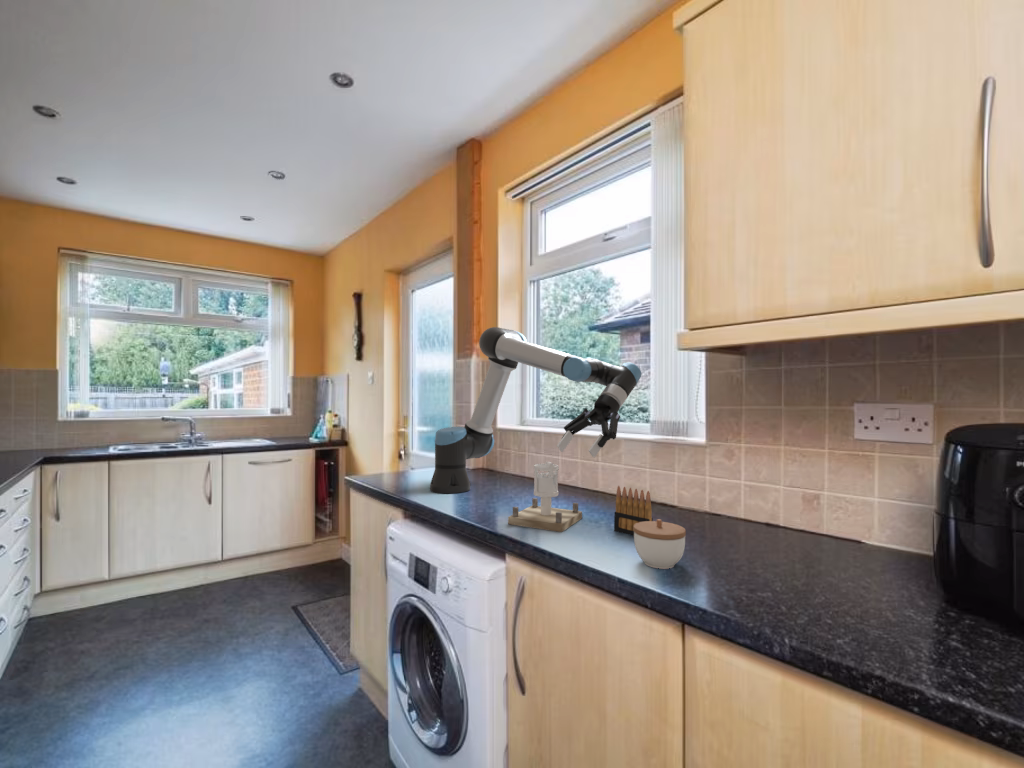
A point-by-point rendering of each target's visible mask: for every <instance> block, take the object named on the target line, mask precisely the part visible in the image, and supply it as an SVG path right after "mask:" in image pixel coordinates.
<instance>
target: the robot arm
mask: <svg viewBox="0 0 1024 768" xmlns="http://www.w3.org/2000/svg"><path fill="white" fill-rule="evenodd" d="M478 342H479V344H478V345H479V348H480V350H481V352H482V354H483V355H484V356H486V357H487V360H488V362H489V367H488V369H487V372H486V375H485V379H484V381H483V384H482V387H481V390H480V392H479V396H478V398H477V401H476V403H475V404H476V405H475V406H474V410H473V413H472V415H471V418H470V419H468V420H466V421H465V424H464V426H451V427H450V426H449V427H443V428H440V429H438V430H437V431H436V433H435V437H434V438H435V439H434V465H435V466H434V470H433V474H432V478H431V481H430V484H429V490H430V492H433V493H438V494H459V493H460V494H461V493H466V492H469V491H470V490H471V481H470V478H469V475H468V471H467V467H466V466H467V460H472V459H480V458H482V457H485V456H487V455H488V454H491V452H492V450H493V449H494V446H495V438H494V437H495V436H494V428H493V427H492V425H493V423H494V419H495V416H496V414H497V411H498V409H499V405H500V403H501V401H502V400H501V399H502V397H503V395H504V392H505V388H506V387H507V383H508V381H509V378H510V376H511V372H513V371H514V370H516V369H517V368H518V365H519V363H521V364H522V365H526V366H529V367H532V368H535V369H539V370H542V371H545V372H547V373H551V374H552V373H553V374H555V375H559V376H561V377H564V378H566V379H568V380H570V381H571V382H577V383H579V382H580V383H581V382H585V383H596V384H599V385H602V386H604V388H603V390H602V391H601V393H600V395H599V396H598V397H597V399H596V400H595V402H594V404H593V408H592V410H588V409H587V408H584V409H583V411H582V412H581V413H580V414H579V415H578V416H576V417H575V418H573V419H572V420H571V421H570V422H569V423H567V424H566V425H565V426H563V429H564V431H565V432H564V434H563V435H562V437H561V440H559V442H558V443H557V445H556V447H557V448H558V449H559V451H560V452H562V453H564V451H565V449H566V448H567V447H568V446H569V444H570V443H571V441H572V440H573V439H574V435H575V434H577V433H579V432H581V431H582V430H584V429H585V428H587V427H592V426H594V425H595V426H596V425H598V426H600V428H601V431H602V432H601V434H600V433H599V435H598V436H597V438H596V439H595V440H594V442H593V443H592V445H591V446H590V448H589V449H588V452H589V454H590V456H591V457H592V458H596V457H597V455H598V454H599V452H600V451H601V449H602V448H603V447H604V446H605V445H606V443H608V441H609V440H611V439H612V440H615V439H616V438H617V435H618V434H617V432H618V425H619V421H620V419H621V415H620V413H619V410H620V409H621V407H622V406H623V405H624V403H625V402H626V400H627V399H628V397H629V396H630V394H632V392H633V390H634V388H635V387H636V386H637V385H638V383H639V381H640V379H641V377H642V370H641V369H640V368H639V366H638V365H636V364H635V363H633V362H630V361H628V362H623V363H622V364H621V365H620V366H618V365H614V364H611V363H608V362H606V361H603V360H599V359H597V358H593V357H590V356H589V357H585V358H584V357H580V356H577V355H575V354H574V355H573V354H570V353H566V352H564V351H559V350H557V349H553V348H549V347H546V346H542V345H539V344H536V343H531V342H528V340H527V338H526V336H525V335H524V334H523V333H521V332H519V331H518V330H515V329H508V328H502V327H498V326H497V327H495V326H492V327H489V328H487V329H485V330H484V331H482V333H481V335H480V337H479V340H478Z"/></svg>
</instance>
